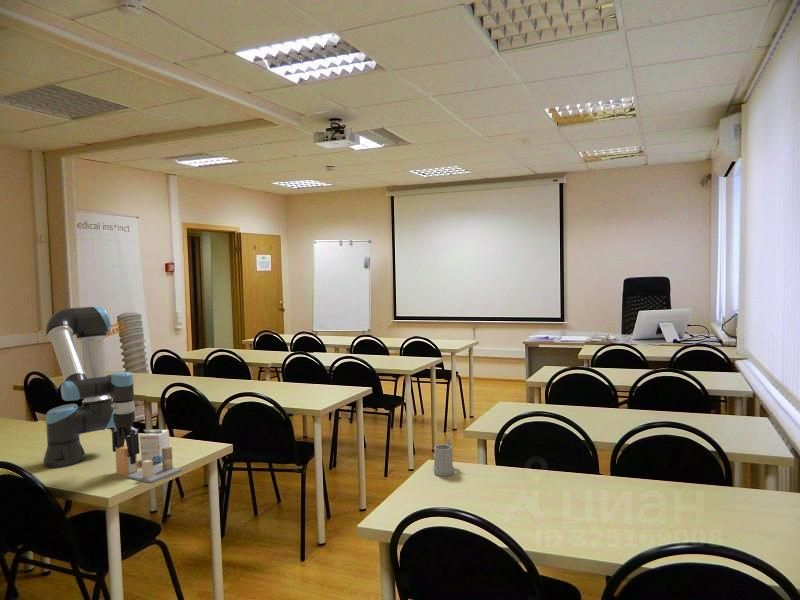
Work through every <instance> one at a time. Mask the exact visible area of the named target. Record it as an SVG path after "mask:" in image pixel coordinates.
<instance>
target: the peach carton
mask: <svg viewBox="0 0 800 600" xmlns="http://www.w3.org/2000/svg"><path fill="white" fill-rule="evenodd" d="M115 451H116V452H115V469H116V475H119V476H123V477H126V476H127V475H130V474H133V473H135V472H138V460H137V459H138V457H137V455H138V454H136V463H135V467H136V471H134V472H131V473H128V457H127V456H128V455H129V453H128V449H127V444H126V445H124V446H123V447H119V448H116V449H115Z"/></svg>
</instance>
